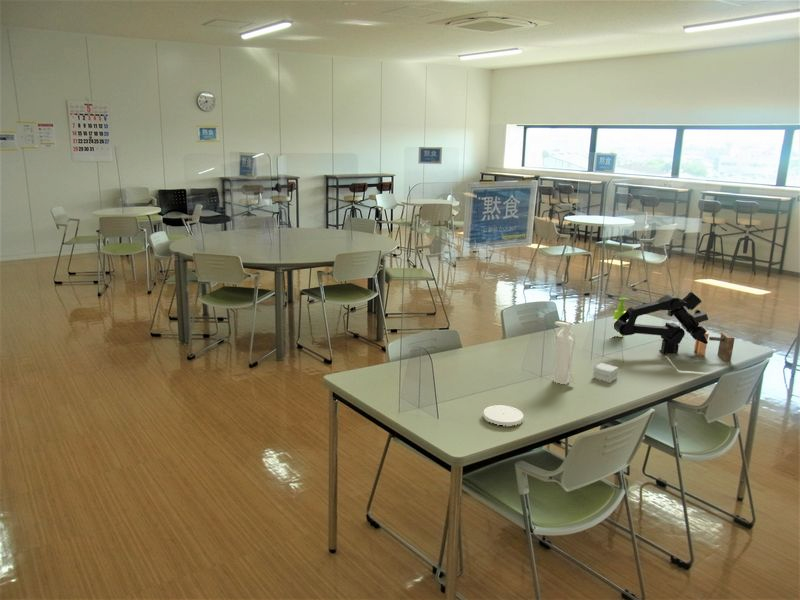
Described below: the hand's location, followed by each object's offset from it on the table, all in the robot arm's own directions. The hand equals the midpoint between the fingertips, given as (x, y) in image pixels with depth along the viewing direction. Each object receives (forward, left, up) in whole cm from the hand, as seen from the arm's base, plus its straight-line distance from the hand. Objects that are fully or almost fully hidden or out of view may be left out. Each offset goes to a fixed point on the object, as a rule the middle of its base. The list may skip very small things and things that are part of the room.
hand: (704, 341), depth 290 cm
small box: (-56, -32, -7) cm, 65 cm away
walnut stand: (+4, -5, -7) cm, 10 cm away
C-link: (-2, 0, -6) cm, 7 cm away
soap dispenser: (-30, +27, -7) cm, 41 cm away
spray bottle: (-75, -37, -7) cm, 84 cm away
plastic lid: (-105, -73, -8) cm, 129 cm away
